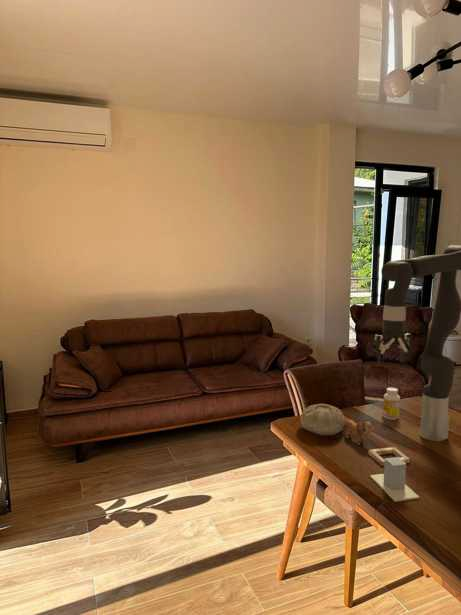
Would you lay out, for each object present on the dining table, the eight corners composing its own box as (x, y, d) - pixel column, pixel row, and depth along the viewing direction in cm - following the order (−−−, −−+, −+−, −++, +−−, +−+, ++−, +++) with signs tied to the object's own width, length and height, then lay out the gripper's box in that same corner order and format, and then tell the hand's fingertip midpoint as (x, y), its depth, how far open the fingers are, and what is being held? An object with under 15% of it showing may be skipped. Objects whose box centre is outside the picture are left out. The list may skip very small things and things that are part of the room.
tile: (391, 474, 142) (392, 472, 142) (419, 498, 129) (419, 496, 129) (370, 476, 141) (370, 475, 141) (395, 501, 127) (395, 499, 127)
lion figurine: (375, 445, 163) (376, 422, 162) (366, 448, 160) (367, 425, 159) (344, 431, 175) (345, 410, 174) (335, 434, 172) (336, 413, 171)
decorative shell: (324, 444, 164) (325, 419, 162) (290, 428, 178) (291, 405, 176) (353, 432, 174) (354, 408, 173) (319, 418, 188) (320, 396, 187)
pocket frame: (394, 450, 159) (394, 447, 158) (409, 462, 150) (409, 458, 150) (368, 453, 156) (368, 449, 156) (382, 466, 148) (382, 461, 148)
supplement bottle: (379, 414, 192) (381, 387, 191) (393, 413, 194) (395, 386, 192) (387, 420, 186) (389, 392, 184) (401, 419, 187) (403, 391, 185)
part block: (396, 480, 138) (397, 457, 136) (404, 488, 133) (406, 464, 132) (383, 482, 137) (384, 458, 135) (391, 490, 132) (393, 465, 131)
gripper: (405, 315, 158) (402, 359, 160) (370, 317, 155) (368, 361, 157) (418, 319, 150) (415, 364, 153) (381, 320, 147) (379, 366, 150)
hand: (391, 362), depth 155 cm, fingers open, 8 cm apart
